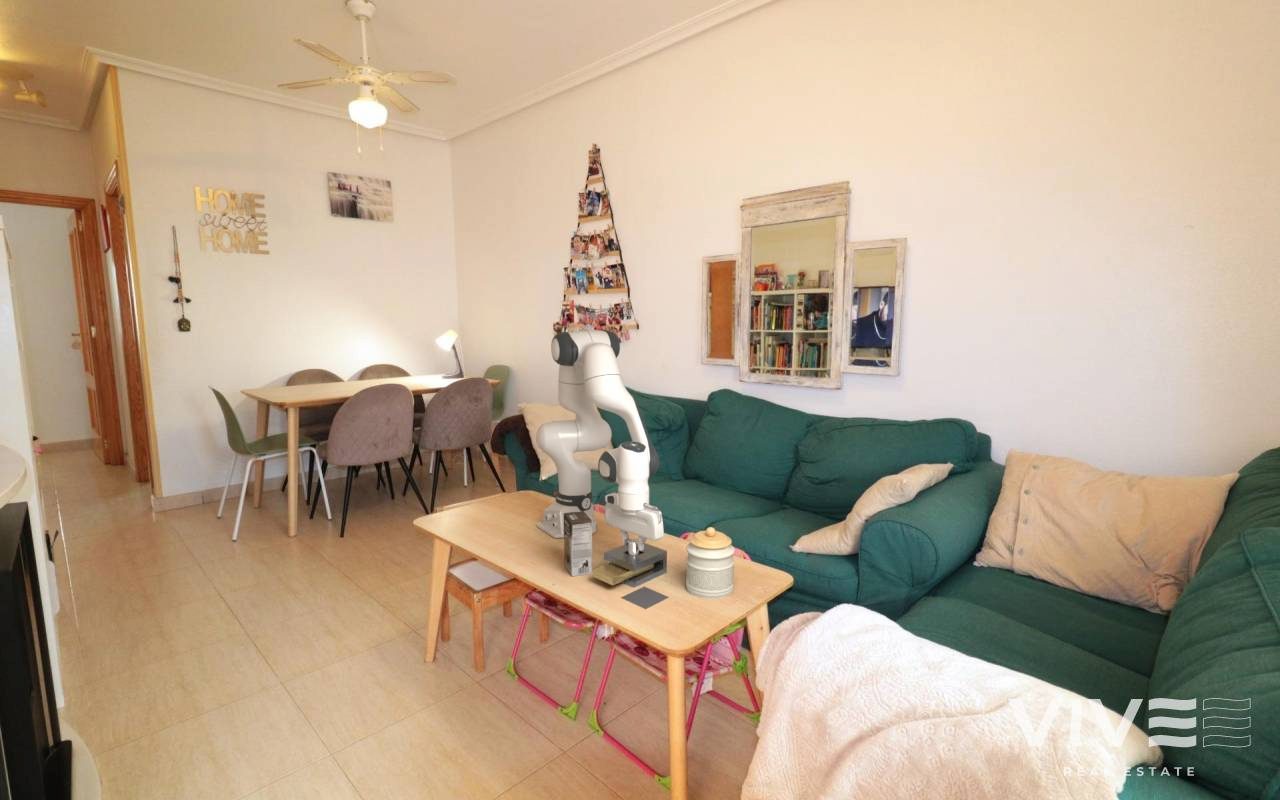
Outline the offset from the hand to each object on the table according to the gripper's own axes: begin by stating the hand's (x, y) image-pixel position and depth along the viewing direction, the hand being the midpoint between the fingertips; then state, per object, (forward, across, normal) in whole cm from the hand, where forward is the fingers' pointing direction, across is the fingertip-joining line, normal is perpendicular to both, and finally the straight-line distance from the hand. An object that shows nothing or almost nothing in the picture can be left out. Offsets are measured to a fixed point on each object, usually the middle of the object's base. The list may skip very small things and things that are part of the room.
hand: (633, 547), depth 167 cm
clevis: (+9, 0, +2) cm, 9 cm away
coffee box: (+9, +15, +8) cm, 19 cm away
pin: (+8, 0, 0) cm, 8 cm away
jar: (+9, -21, -8) cm, 24 cm away
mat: (+9, -12, +8) cm, 17 cm away
